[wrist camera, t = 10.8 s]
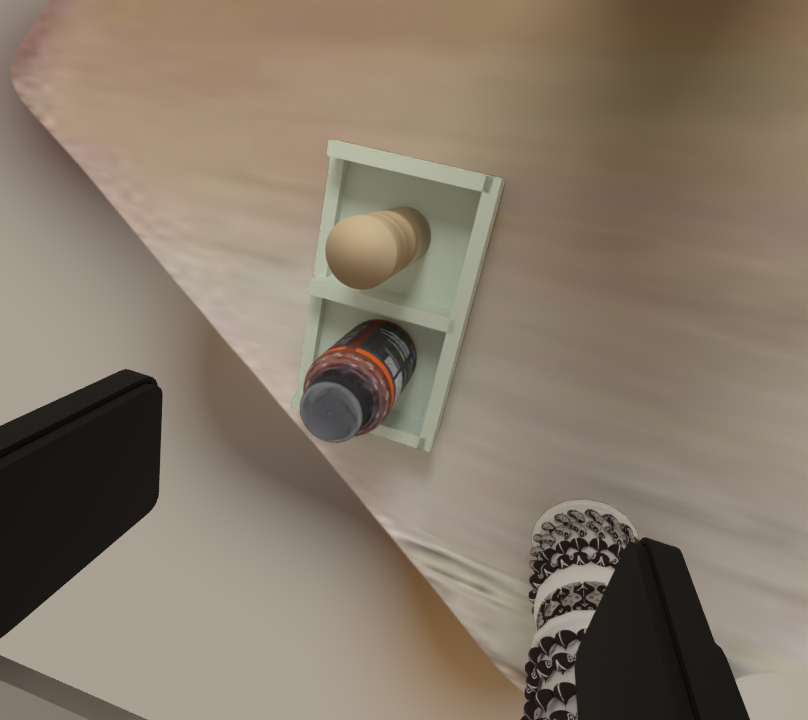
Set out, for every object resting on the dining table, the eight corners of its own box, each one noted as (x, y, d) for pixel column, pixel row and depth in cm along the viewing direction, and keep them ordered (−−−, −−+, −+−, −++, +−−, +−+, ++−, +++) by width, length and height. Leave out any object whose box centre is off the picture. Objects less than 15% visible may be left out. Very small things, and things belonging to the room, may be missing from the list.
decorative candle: (667, 524, 41) (830, 969, 18) (611, 605, 44) (686, 1063, 21) (556, 476, 42) (575, 839, 19) (510, 559, 45) (478, 950, 22)
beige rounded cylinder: (383, 200, 37) (331, 208, 28) (436, 214, 37) (401, 225, 28) (372, 255, 39) (320, 279, 30) (424, 269, 38) (387, 297, 29)
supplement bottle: (334, 363, 42) (267, 422, 32) (367, 302, 40) (306, 345, 30) (396, 402, 42) (349, 475, 32) (433, 343, 40) (394, 401, 29)
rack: (342, 141, 37) (321, 137, 34) (505, 178, 36) (501, 178, 32) (304, 388, 45) (284, 406, 41) (438, 430, 43) (429, 452, 39)
